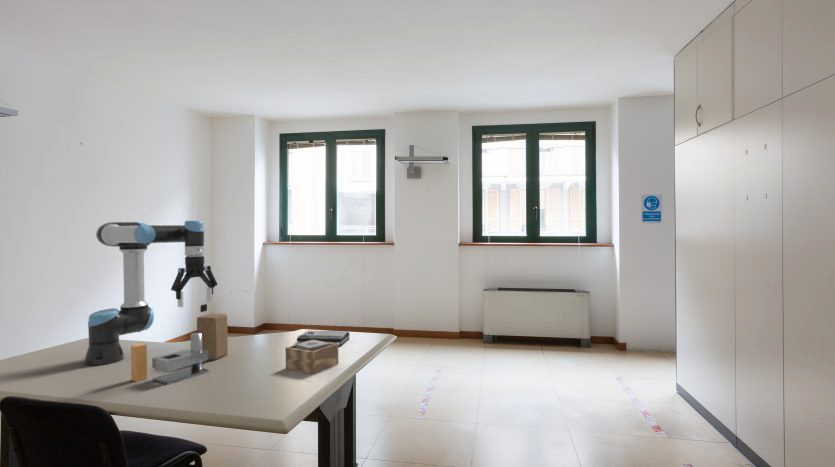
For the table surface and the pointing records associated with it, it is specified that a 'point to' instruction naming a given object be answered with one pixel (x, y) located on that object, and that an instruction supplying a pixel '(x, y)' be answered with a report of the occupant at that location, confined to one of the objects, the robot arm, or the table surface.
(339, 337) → the radio
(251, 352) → the table surface
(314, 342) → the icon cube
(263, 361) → the table surface
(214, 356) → the wooden block
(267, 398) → the table surface
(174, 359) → the grey slotted stand
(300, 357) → the box
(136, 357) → the orange square bar
